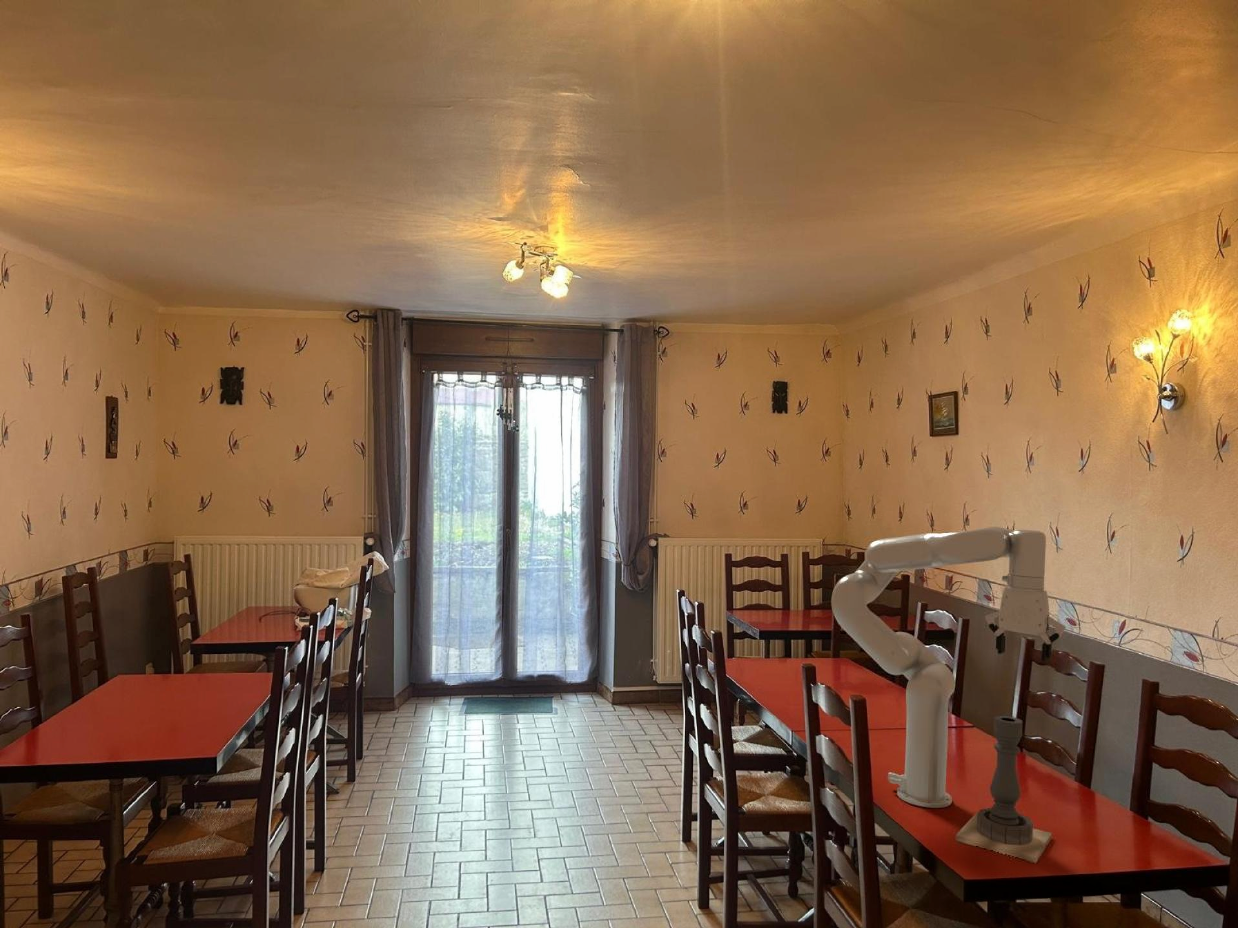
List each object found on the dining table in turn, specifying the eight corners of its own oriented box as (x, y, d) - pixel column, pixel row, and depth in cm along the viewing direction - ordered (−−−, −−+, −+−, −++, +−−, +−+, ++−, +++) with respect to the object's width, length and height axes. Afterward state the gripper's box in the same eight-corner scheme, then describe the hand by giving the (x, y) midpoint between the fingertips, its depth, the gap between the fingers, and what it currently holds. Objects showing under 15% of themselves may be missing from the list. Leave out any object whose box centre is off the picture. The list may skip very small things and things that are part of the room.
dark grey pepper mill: (992, 825, 193) (997, 713, 194) (1022, 833, 190) (1027, 719, 190) (984, 833, 189) (989, 719, 189) (1014, 842, 185) (1019, 725, 185)
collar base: (955, 840, 187) (956, 818, 187) (975, 818, 200) (976, 797, 200) (1036, 863, 178) (1037, 840, 178) (1051, 838, 191) (1052, 817, 191)
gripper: (982, 579, 204) (979, 652, 204) (1062, 589, 192) (1058, 665, 192) (992, 577, 209) (989, 648, 209) (1071, 586, 198) (1067, 661, 198)
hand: (1022, 656), depth 201 cm, fingers open, 9 cm apart
